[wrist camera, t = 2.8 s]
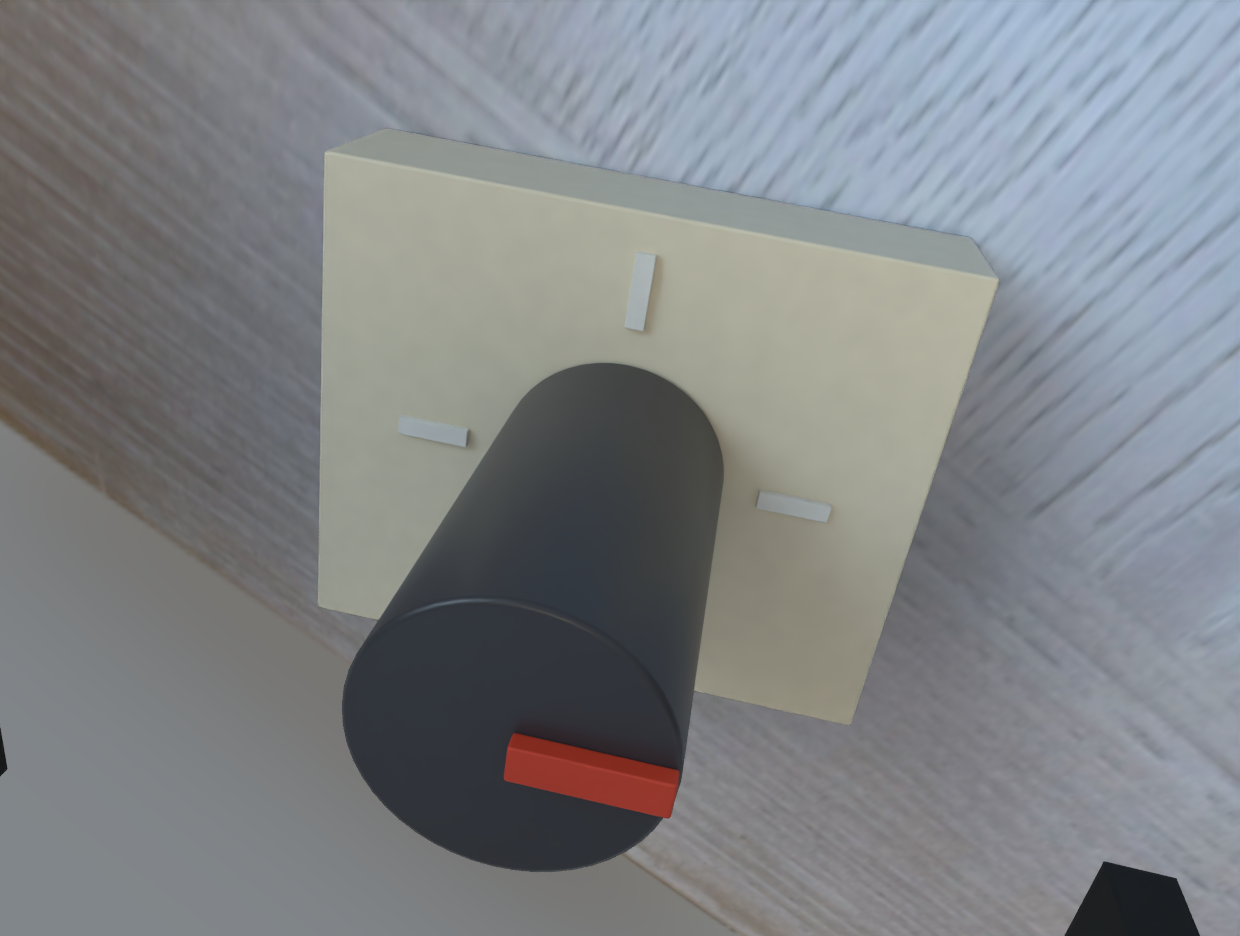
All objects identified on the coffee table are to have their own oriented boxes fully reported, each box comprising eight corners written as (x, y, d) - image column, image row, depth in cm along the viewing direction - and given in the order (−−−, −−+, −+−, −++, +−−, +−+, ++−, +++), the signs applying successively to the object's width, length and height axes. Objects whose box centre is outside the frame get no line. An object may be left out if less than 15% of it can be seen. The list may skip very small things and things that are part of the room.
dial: (492, 538, 21) (326, 848, 13) (513, 340, 19) (332, 577, 11) (700, 583, 20) (648, 926, 13) (745, 387, 18) (712, 661, 11)
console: (367, 540, 25) (313, 611, 22) (383, 126, 20) (319, 151, 18) (844, 644, 24) (851, 731, 21) (974, 237, 20) (1003, 281, 17)
